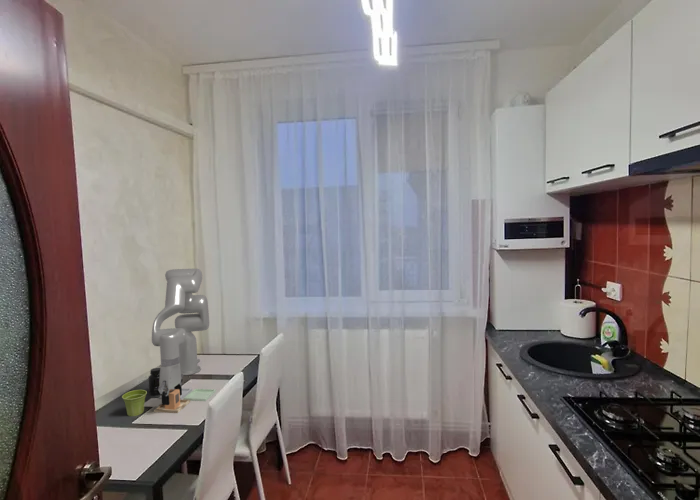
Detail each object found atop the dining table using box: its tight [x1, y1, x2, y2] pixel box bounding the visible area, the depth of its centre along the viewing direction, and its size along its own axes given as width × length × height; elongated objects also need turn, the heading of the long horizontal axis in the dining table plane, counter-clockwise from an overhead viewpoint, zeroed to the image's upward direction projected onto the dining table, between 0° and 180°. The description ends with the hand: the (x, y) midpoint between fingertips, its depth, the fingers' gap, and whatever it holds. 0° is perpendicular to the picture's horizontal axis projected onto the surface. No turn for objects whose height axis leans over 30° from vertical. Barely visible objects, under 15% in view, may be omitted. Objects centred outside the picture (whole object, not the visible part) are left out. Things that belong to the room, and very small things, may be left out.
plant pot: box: [121, 389, 148, 417], centre depth 173 cm, size 9×9×9 cm
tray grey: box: [158, 387, 193, 400], centre depth 191 cm, size 11×11×2 cm
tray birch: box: [153, 399, 191, 414], centre depth 179 cm, size 11×11×2 cm
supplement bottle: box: [147, 367, 161, 397], centre depth 194 cm, size 7×7×12 cm
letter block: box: [165, 389, 180, 410], centre depth 178 cm, size 4×5×7 cm
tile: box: [144, 397, 162, 408], centre depth 183 cm, size 8×8×1 cm
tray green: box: [182, 388, 217, 402], centre depth 190 cm, size 11×11×2 cm
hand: (172, 399), depth 178 cm, fingers open, 9 cm apart
